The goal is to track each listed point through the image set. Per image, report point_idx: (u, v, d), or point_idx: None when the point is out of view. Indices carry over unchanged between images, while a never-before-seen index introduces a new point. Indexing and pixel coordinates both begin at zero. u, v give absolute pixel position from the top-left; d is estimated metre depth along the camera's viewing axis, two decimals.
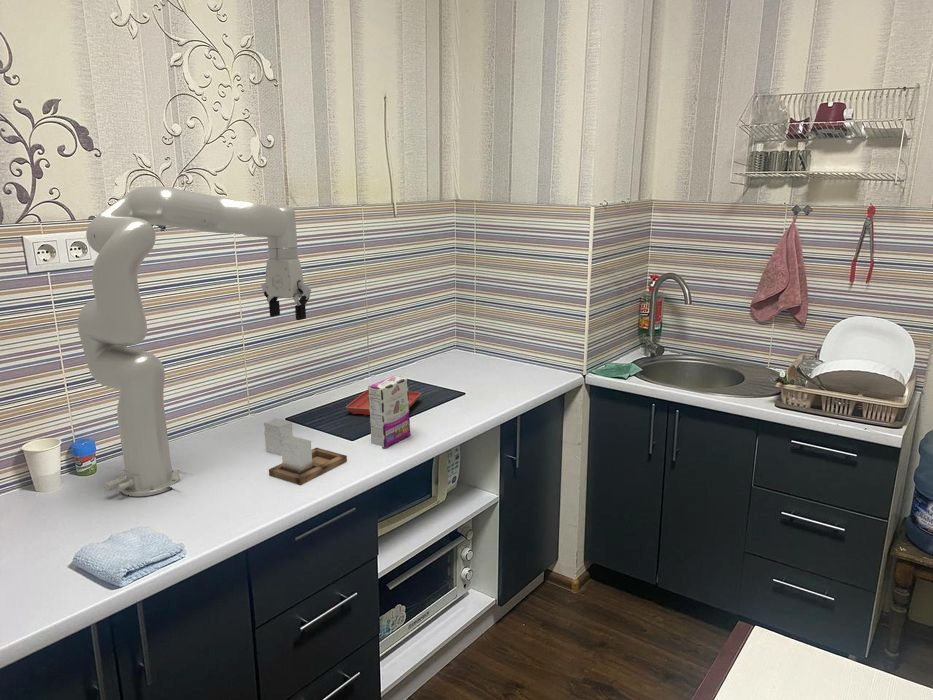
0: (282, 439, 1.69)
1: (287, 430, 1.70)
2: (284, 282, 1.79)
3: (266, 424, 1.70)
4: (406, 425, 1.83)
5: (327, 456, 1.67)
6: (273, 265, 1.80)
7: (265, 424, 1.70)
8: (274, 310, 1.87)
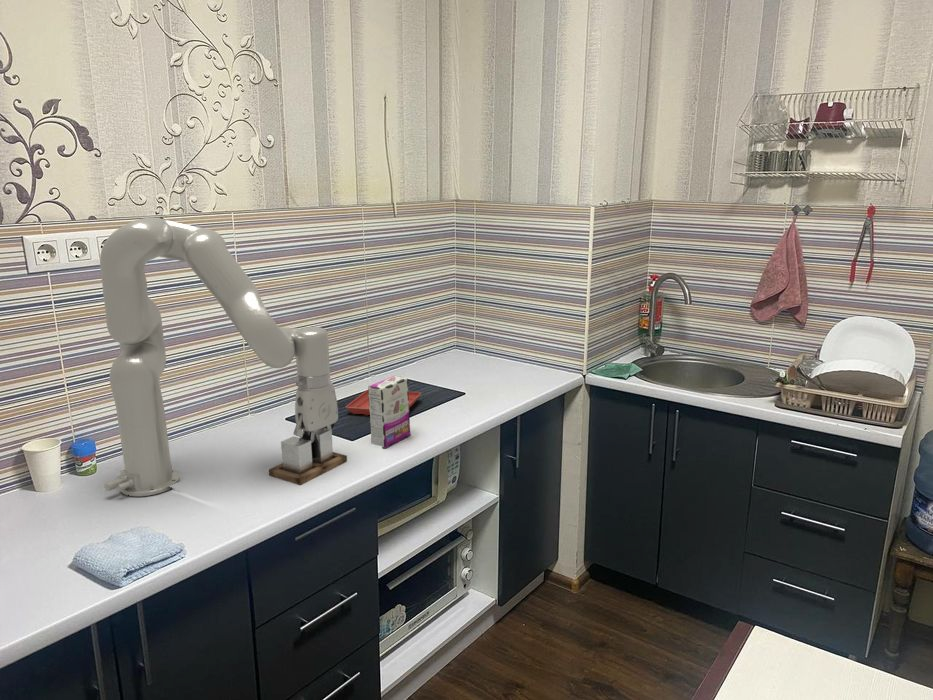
0: (322, 448, 1.61)
1: (327, 439, 1.62)
2: (331, 407, 1.62)
3: None
4: (406, 425, 1.83)
5: None
6: (320, 394, 1.58)
7: None
8: None
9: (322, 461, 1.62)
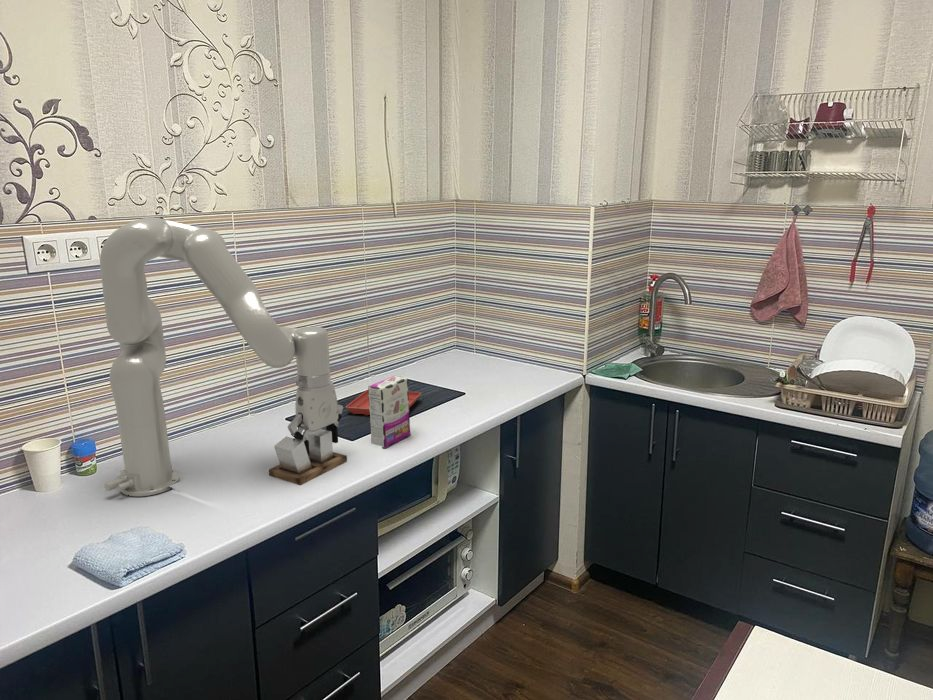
0: (322, 449, 1.61)
1: (327, 440, 1.63)
2: (332, 407, 1.62)
3: None
4: (406, 425, 1.83)
5: None
6: (320, 394, 1.58)
7: None
8: None
9: (323, 462, 1.62)
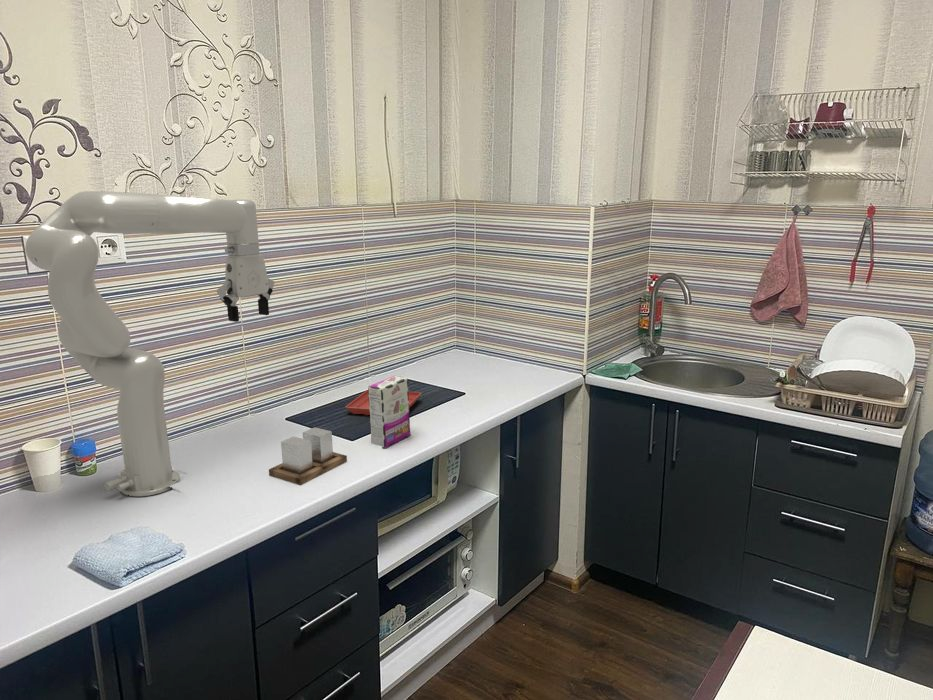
0: (322, 449, 1.61)
1: (327, 440, 1.63)
2: (261, 277, 1.72)
3: (305, 434, 1.62)
4: (406, 425, 1.83)
5: None
6: (248, 262, 1.69)
7: (304, 434, 1.63)
8: None
9: (323, 462, 1.62)
